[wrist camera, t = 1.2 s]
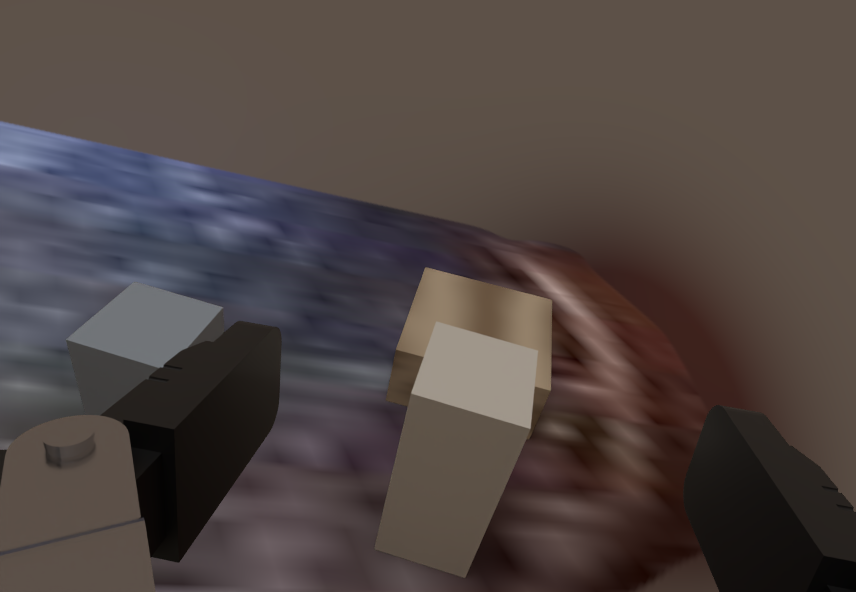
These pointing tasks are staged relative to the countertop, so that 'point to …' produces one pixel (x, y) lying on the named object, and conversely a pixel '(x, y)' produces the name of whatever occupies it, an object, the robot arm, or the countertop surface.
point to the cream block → (457, 447)
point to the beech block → (473, 328)
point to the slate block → (136, 341)
